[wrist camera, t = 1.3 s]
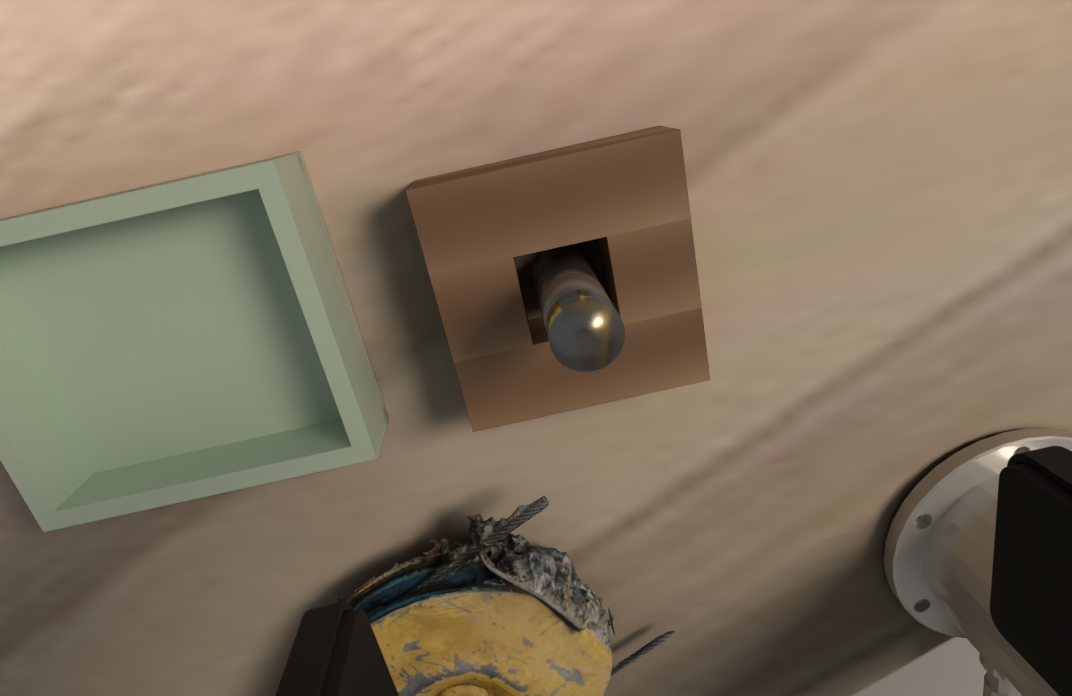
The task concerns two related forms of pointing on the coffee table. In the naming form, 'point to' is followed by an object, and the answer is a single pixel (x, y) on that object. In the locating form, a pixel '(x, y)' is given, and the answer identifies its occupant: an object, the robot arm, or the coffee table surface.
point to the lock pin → (576, 311)
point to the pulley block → (491, 618)
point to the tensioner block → (550, 222)
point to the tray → (178, 346)
